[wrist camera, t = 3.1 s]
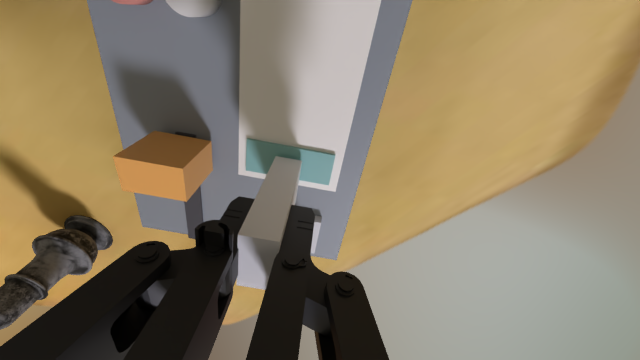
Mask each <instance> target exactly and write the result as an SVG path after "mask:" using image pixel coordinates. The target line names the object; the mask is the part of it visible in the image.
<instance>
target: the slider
mask: <svg viewBox="0 0 640 360" xmlns="http://www.w3.org/2000/svg"><path fill="white" fill-rule="evenodd" d="M113 158H114V162H115V165H116V169H117V172H118V176H119V180H120V183H121V187H122V190H123V191H129V192H134V193H140V194H146V195H151V196H157V197H163V198H168V199H174V200H180V201H185V202H187V201H188V200H189V198H190V197H191V196H192V195H193V194H194V192H195V191H196V190H197V189H198V187H199V186H200V185H201V184H202V183H203V181H204V180H205V179H206V178H207V177H208V175H209V174H210V173H211V172H212V171H213V163H212V144H211V141H208V140H203V139H197V138H192V137H186V136H181V135H175V134H170V133H165V132H159V131H153V132H151V133H150V134H148V135H147V136H145V137H143V138H142V139H140V140H139V141H137V142H135V143H134V144H132V145H131V146H129V147H127V148H126V149H124V150H123V151H121V152H119V153H118V154H116V155H115V156H113Z"/></svg>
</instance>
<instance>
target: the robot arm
mask: <svg viewBox="0 0 640 360" xmlns="http://www.w3.org/2000/svg"><path fill="white" fill-rule="evenodd" d="M301 164H302V161H301V160H295V159H290V158H284V157H278V156H276V157H275V159H274V161H273V163H272V165H271V167H270V169H269V171H268V173H267V175H266V177H265V179H264V181H263V183H262V185H261V188H260V190H259V192H258V194H257V196H256V198H255V199H252V198H246V197H241V196H239V197H237V198H236V199H234V200H233V201H231V202H230V204H229V206H228V207H227V209H226V211H225V212H224V214H223V216H222V217H221V219H220V220H209V221H205V222H203V223H201V224H199V225H198V226H197V227H196V228H195V240H196V247H194V248H191V249H185V250H173V251H170V249H169V247H168V245H166V244H165V243H163V242H159V241H149V242H145V243H141V244H139V245H137V246H135V247H133V248H132V249H130V250H129V251H128V252H126V253H125V254H124V255H122V256H121V257H120V258H118V259H117V260H116V261H114V262H113V263H112V264H110V265H109V266H107V267H106V268H105V269H103V270H102V271H101V272H99V273H98V274H97V275H95V276H94V277H93V278H91V279H90V280H89V281H87V282H86V283H85V284H83V285H82V286H81V287H79V288H78V289H77V290H75V291H74V292H73V293H71V294H70V295H69V296H67V297H66V298H65V299H63V300H62V301H61V302H59V303H58V304H57V305H55V306H54V307H53V308H51V309H50V310H49V311H47V312H46V313H45V314H43V315H42V316H41V317H39V318H38V319H37V320H35V321H34V322H33V323H31V324H30V325H29V326H27V327H26V328H24V329H23V330H22V331H21V332H19V333H18V334H16V335H15V336H14V337H12V338H11V339H10V340H8V341H7V342H6V343H4V344H3V345H2V346H0V360H208V358H209V355H210V353H211V350H212V348H213V345H214V343H215V340H216V338H217V335H218V332H219V330H220V327H221V325H222V322H223V320H224V317H225V314H226V312H227V309H228V307H229V304H230V302H231V299H232V295H233V286H234V283H235V281H236V278H237V285H240V286H246V287H252V288H258V289H264V290H265V294H264V297H263V301H262V304H261V308H260V312H259V315H258V319H257V322H256V326H255V329H254V333H253V336H252V340H251V343H250V347H249V351H248V354H247V358H246V360H298V354H299V347H300V339H301V331H302V324H303V325H305V326H307V327H309V328H310V329H312V330H314V331H315V337H316V344H317V350H318V356H319V360H389V358H388V355H387V352H386V349H385V347H384V344H383V341H382V339H381V335H380V333H379V330H378V327H377V324H376V321H375V318H374V315H373V313H372V310H371V307H370V304H369V301H368V299H367V296H366V293H365V290H364V287H363V285H362V284H361V282H360V280H359V279H358V278H357V277H355V276H354V275H352V274H350V273H347V272H336V273H334V274H332V275H329V274H326V273H324V272H322V271H321V270H319V269H318V268H317V267H316V266H315V265H314V264H313V263H312V260H311V256H310V253H311V245H312V237H313V229H314V221H315V214H314V212H313V210H312V208H307V207H302V206H296V205H295V202H296V197H297V190H298V184H299V177H300V171H301Z"/></svg>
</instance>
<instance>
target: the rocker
mask: <svg viewBox="0 0 640 360" xmlns="http://www.w3.org/2000/svg"><path fill="white" fill-rule="evenodd" d="M380 4H381V0H240V81H239V163H238V175H244V176H250V177H255V178H261V179H265V177H266V175H267V173H268V171H269V169H270V167H271V165H272V163H273V161H274V159H275V157H276V156H278V157H284V158H290V159H295V160H301V161H302V164H301V171H300V177H299V184H298V185H300V186H305V187H311V188H316V189H322V190H327V191H333V192H336V188H337V183H338V179H339V175H340V171H341V167H342V163H343V158H344V154H345V150H346V146H347V142H348V138H349V133H350V129H351V125H352V121H353V117H354V113H355V108H356V104H357V100H358V96H359V92H360V87H361V83H362V79H363V75H364V71H365V67H366V62H367V58H368V54H369V50H370V46H371V42H372V37H373V33H374V29H375V25H376V21H377V17H378V12H379V8H380Z"/></svg>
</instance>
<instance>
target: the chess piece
mask: <svg viewBox="0 0 640 360" xmlns="http://www.w3.org/2000/svg"><path fill="white" fill-rule="evenodd" d="M64 227H65V229H59V230H56V231H53V232H50V233H48V234H46V235H42V236H39V237H37V238H35V239H34V241H33V242H32V248H33V250H34V253H35V254H36V256H35V258H34V259H33V260H32V261H31V262H30V263H29V264H27V265H26V266H25V267H24V268H22V269H21V270H20V271H19V272H17V273H16V274H11V275H8V276H6V278H5V284H4V285H2V286H1V287H0V329H3V328H5V327H8V326H9V325H11V324H12V323H13V322H14V321H15V320H16V319H17V318H18V317H20V316H21V314H23V313H24V312H25V311H26V310H27V309H28V308H29V307H30V306H31V305H32V304H33V303H34V302H36V301H37V300H42V299H45V298H46V297H47V296H48V292H47V291H48V290H50V289H51V288H52V287H53V286H54V285H55V284H56V283H57V282H58V281H59V280H60V279H62V278H63V277H64V276H66V275H68V274H71V275H83V274H86V273H88V272H89V271H90V270H91V269H92V264H93V263H94V261H95V259H96V257H97V254H98V250H105V249H107V248H109V247H110V246H111V245H112V242H113V239H112V236H111V234H110V232H109V231H108V230H107V228H106V227H104V226H103V225H102V224H101V223H99V222H97V221H96V220H94V219H91V218H89V217H85V216H79V215H75V216H71V217H69V218H67V219H66V221H65V224H64Z"/></svg>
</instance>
